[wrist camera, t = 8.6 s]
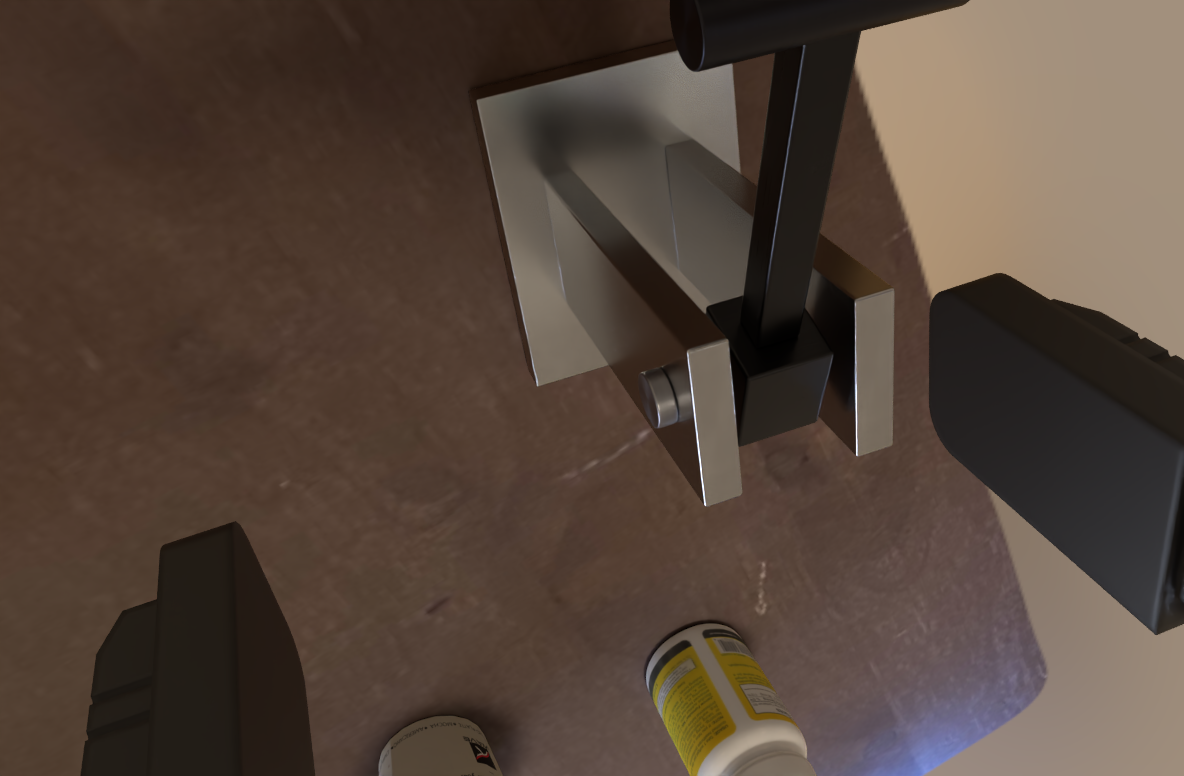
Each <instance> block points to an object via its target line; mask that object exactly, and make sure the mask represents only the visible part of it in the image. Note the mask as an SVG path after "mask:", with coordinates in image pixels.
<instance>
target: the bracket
mask: <svg viewBox="0 0 1184 776" xmlns="http://www.w3.org/2000/svg"><path fill="white" fill-rule="evenodd" d="M468 93H469V97H470V102H471V107H472V111H473V116H474V120H475V125H476V130H477V134H478V139H479V143H480V148H481V153H482V157H483V162H484V167H485V171H486V176H487V180H488V185H489V190H490V194H491V199H492V203H493V208H494V213H495V217H496V222H497V227H498V231H499V236H500V240H501V245H502V250H503V254H504V259H505V263H506V268H507V273H508V277H509V282H510V286H511V291H512V296H513V300H514V305H515V310H516V314H517V319H518V323H519V328H520V333H521V337H522V342H523V346H524V351H525V356H526V360H527V365H528V369H529V372H530V374H531V376H532V377H533V379H534V381H535V383H536V385H537V386H542V385H545V384H549V383H552V382H555V381H559V380H562V379H565V378H569V377H572V376H575V375H579V374H582V373H585V372H589V371H592V370H595V369H598V368H602V367H605V366H608V365H609V366H610V367H611V369H612V370H613V372H614V373H615V375H616V376H617V378H618V379H619V381H620V382H621V384H622V385H623V387H624V388H625V390H626V391H627V392H628V394H629V395H630V397H631V398H632V400H633V401H634V403H635V404H636V406H637V407H638V409H639V410H640V412H641V413H642V414H643V416H644V417H645V419H646V420H647V422H648V423H649V425H650V426H651V428H652V429H653V431H654V432H655V434H656V435H657V437H658V438H659V439H660V441H661V442H662V444H663V445H664V447H665V448H666V450H667V451H668V453H669V454H670V456H671V457H672V459H673V460H674V461H675V463H676V464H677V466H678V467H679V469H680V470H681V472H682V473H683V475H684V476H685V478H686V479H687V481H688V482H689V483H690V485H691V486H692V488H693V489H694V491H695V492H696V494H697V495H698V497H699V498H700V500H701V501H702V503H703V504H704V505H705V506H706V507H707V506H711V505H714V504H717V503H720V502H723V501H726V500H729V499H732V498H735V497H738V496H741V495H742V483H741V472H740V460H739V449H738V438H737V427H736V416H735V405H734V394H733V382H732V371H731V360H730V349H729V340H728V338H727V337H726V336H725V335H724V334H723V333H722V332H721V330H720V329H719V328H718V327H717V326H716V325H715V324H714V323H713V322H712V321H711V320H710V319H709V317H708V316H707V315H706V307H707V306H709V305H712V304H715V303H718V302H722V301H725V300H729V299H732V298H735V297H739V296H742V295H743V293H744V286H745V278H746V270H747V263H748V255H749V247H750V240H751V232H752V224H753V217H754V209H755V201H756V194H757V186H756V185H755V184H753V183H752V182H751V181H749V180H748V179H747V178H745V177H744V176H743V175H741V170H740V156H739V143H738V130H737V116H736V103H735V90H734V76H733V63H732V64H728V65H724V66H720V67H716V68H712V69H708V70H704V71H700V72H693V71H691V70H689V69H688V68H687V67H686V65H685V64H684V63H683V61H682V59H681V57H680V55H679V52H678V50H677V47H676V44H675V41H674V40H671V41H667V42H662V43H658V44H654V45H650V46H646V47H642V48H638V49H634V50H630V51H626V52H621V53H617V54H613V55H609V56H605V57H601V58H597V59H593V60H589V61H585V62H580V63H576V64H572V65H568V66H564V67H560V68H556V69H552V70H548V71H544V72H539V73H535V74H531V75H527V76H523V77H519V78H515V79H511V80H507V81H503V82H498V83H494V84H490V85H486V86H482V87H478V88H474V89H470V90H469V91H468ZM805 308H806V310H807V311H808V313H809V314H810V316H811V318H812V319H813V321H814V322H815V324H816V325H817V327H818V328H819V330H820V332H821V333H822V335H823V336H824V338H825V339H826V341H827V342H828V344H829V345H830V347H831V349H832V350H833V352H834V356H833V360H832V364H831V368H830V372H829V376H828V380H827V384H826V388H825V392H824V396H823V400H822V403H821V407H820V411H819V415H818V416H819V417H820V418H821V419H822V421H823V422H824V423H825V424H826V425H827V426H828V427H829V428H830V429H831V430H832V431H833V432H834V433H835V434H836V435H837V436H838V437H839V438H840V439H841V440H842V441H843V443H844V444H845V445H846V446H847V447H848V448H849V449H850V450H851V451H852V452H853V453H854V454H855V455H856V456H857V457H859V456H862V455H865V454H868V453H871V452H874V451H877V450H880V449H883V448H886V447H889V446H891V445H892V444H893V365H894V288H893V287H891V286H890V285H889V284H887V283H886V282H885V281H883V280H882V279H881V278H879V277H878V276H877V275H875V274H874V273H873V272H871V271H870V270H869V269H867V268H866V267H865V266H863V265H862V264H861V263H859V262H858V261H857V260H855V259H854V258H852V257H851V256H850V255H848V254H847V253H846V252H844V251H843V250H842V249H840V248H839V247H838V246H836V245H835V244H834V243H832V242H831V241H830V240H828V239H827V238H826V237H824V236H823V235H822V234H820V235H819V240H818V244H817V249H816V254H815V259H814V264H813V269H812V274H811V279H810V284H809V289H808V293H807V298H806V303H805Z"/></svg>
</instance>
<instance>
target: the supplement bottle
mask: <svg viewBox="0 0 1184 776" xmlns="http://www.w3.org/2000/svg"><path fill="white" fill-rule="evenodd" d="M646 683H647V687H648V690H649V693H650V695H651V697H652V699H653V701H654V703H655V705H656V707H657V709H658V712H659V713H660V716H661V718H662V720H663V722H664V723H665V726H666V728H667V730H668V732H669V734H670V736H671V738H672V740H673V742H674V744H675V746H676V748H677V750H678V752H679V754H680V756H681V758H682V760H683V762H684V764H685V766H686V768H687V770H688V772H689V774H690V776H817V775H816V773H815V771H814V769H813V767H812V765H811V764H810V763H809V762H808V760H807V759H806V758H807V748H806V743H805V739H804V737H803V735H802V733H801V731H800V730H799V728H798V726H797V725H796V723H795V722H794V720H793V718H792V717H791V715H790V714H789V712H788V711H787V709H786V707H785V706H784V704H783V703H782V701H781V700H780V698H779V696H778V695H777V693H776V692H775V690H774V688H773V687H772V685H771V684H770V682H769V680H768V679H767V677H766V676H765V674H764V673H763V671H762V670H761V668H760V666H759V665H758V663H757V662H756V660H755V658H754V657H753V655H752V654H751V652H750V651H749V649H748V648H747V646H746V644H745V643H744V641H743V640H742V638H741V637H740V636H739V635H738V634H737V633H736V632H735V631H734V630H733V629H731V628H729V627H727V626H724V625H720V624H712V623H709V624H701V625H697V626H693V627H690V628H688V629H685V630H683V631H681V632H679V633H677V634H676V635H674V636H672V637H671V638H669V639H668V640H667V641H666V642H664V643H663V644H662V645H661V646H660V647H659V648H658V649H657V651H656V652H655V653H654V655H653V656H652V658H651V660H650V662H649V665H648V668H647V672H646Z"/></svg>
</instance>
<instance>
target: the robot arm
mask: <svg viewBox="0 0 1184 776" xmlns="http://www.w3.org/2000/svg"><path fill="white" fill-rule="evenodd" d="M929 408H930V414H931V418H932V422H933V425H934V428H935V430H936V432H937V435H938V436H939V438H940V440H941V442H942V443H943V445H944V446H945V448H946V449H947V450H948V451H949V452H950V454H951V455H952V456H954V457H955V458H956V459H957V460H958V461H959V462H960V463H961V464H963V465H964V466H965V467H966V468H967V469H968V470H969V471H971V472H972V473H973V474H974V475H975V476H976V477H977V478H978V479H980V480H981V481H982V482H983V483H984V484H985V485H986V486H988V487H989V488H990V489H991V490H992V491H993V492H994V493H995V494H997V495H998V496H999V497H1000V498H1001V499H1002V500H1003V501H1005V502H1006V503H1007V504H1008V505H1009V506H1010V507H1012V509H1014V510H1015V511H1016V512H1017V513H1018V514H1019V515H1020V516H1022V517H1023V518H1024V519H1025V520H1026V521H1027V522H1028V523H1029V524H1031V525H1032V526H1033V527H1034V528H1035V529H1036V530H1037V531H1038V532H1040V533H1041V534H1042V535H1043V536H1044V537H1045V538H1047V539H1048V540H1049V541H1050V542H1051V543H1052V544H1053V545H1054V546H1056V547H1057V548H1058V549H1059V550H1060V551H1061V552H1062V553H1063V554H1065V555H1066V556H1067V557H1068V558H1069V559H1070V560H1071V561H1073V562H1074V563H1075V564H1076V565H1077V566H1078V567H1079V568H1080V569H1082V570H1083V571H1084V572H1085V573H1086V574H1087V575H1088V576H1090V577H1091V578H1092V579H1093V580H1094V581H1095V582H1096V583H1098V584H1099V585H1100V586H1101V587H1102V588H1103V589H1104V590H1105V591H1107V592H1108V593H1109V594H1110V595H1111V596H1112V597H1113V598H1115V599H1116V600H1117V601H1118V602H1119V603H1120V604H1121V605H1122V606H1123V607H1125V608H1126V609H1127V610H1128V611H1129V612H1130V613H1131V614H1132V615H1134V616H1135V617H1136V618H1137V619H1138V620H1139V621H1140V622H1142V623H1143V624H1144V625H1145V626H1146V627H1147V628H1148V629H1150V630H1151V631H1152V632H1153V633H1154V634H1155V635H1158V634H1160V633H1162V632H1165V631H1167V630H1170V629H1172V628H1175V627H1177V626H1180V625H1182V624H1184V360H1183V359H1182V358H1180V357H1178V356H1176V355H1175V356H1172V357H1170V355H1169V354H1168V350H1166V349H1164V348H1163V347H1161V346H1159V345H1157V344H1156V343H1154V342H1152V341H1150V340H1149V339H1147V338H1143V339H1140V338H1139V336H1138V333H1137V332H1135V331H1133V330H1131V329H1130V328H1128V327H1126V326H1124V325H1123V324H1121V323H1119V322H1117V321H1116V320H1114V319H1112V318H1110V317H1109V316H1107V315H1105V314H1103V313H1101V312H1099V311H1095V310H1091V309H1087V308H1084V307H1081V306H1077V305H1074V304H1070V303H1066V302H1063V301H1059V300H1056V299H1053V300H1049V299H1047V298H1046V297H1044V296H1042V295H1041V294H1039V293H1038V292H1036V291H1034V290H1032V289H1031V288H1029V287H1027V286H1026V285H1024V284H1022V283H1021V282H1019V281H1017V280H1016V279H1014V278H1012V277H1011V276H1008V275H1006V274H1003V273H996V274H993V275H990V276H987V277H984V278H981V279H978V280H975V281H972V282H969V283H966V284H962V285H959V286H956V287H953V288H950V289H947V290H944V291H941V292H939V293H938V294H936V295H935V297H934V298H933V300H932V303H931V307H930V320H929ZM91 698H92V701H93V704H92V705H90V707H89V715H88V722H87V730H86V733H87V735H88V740H87V741H85V746H84V753H83V761H82V769H81V776H315V770H314V761H313V752H312V743H311V733H310V724H309V715H308V706H307V697H306V688H305V681H304V675H303V671H302V666H301V662H300V658H299V655H298V651H297V648H296V645H295V642H294V639H293V636H292V634H291V631H290V629H289V627H288V624H287V622H286V620H285V618H284V616H283V613H282V611H281V609H280V607H279V605H278V603H277V600H276V598H275V596H274V594H273V592H272V590H271V588H270V585H269V583H268V581H267V579H266V577H265V575H264V572H263V570H262V568H261V566H260V564H259V562H258V559H257V557H256V555H255V553H254V551H253V549H252V547H251V544H250V542H249V540H248V538H247V536H246V534H245V532H244V530H243V529H242V527H241V526H240V525H239V524H238V523H237V522H236V521H235V522H232V523H229V524H226V525H223V526H220V527H217V528H213V529H210V530H207V531H204V532H201V533H198V534H195V535H192V536H189V537H186V538H183V539H180V540H177V541H174V542H171V543H168V544H165V545H163V546H162V548H161V550H160V560H159V576H158V592H157V599H156V600H153V601H150V602H147V603H144V604H142V605H139V606H136V607H133V608H130V609H127V610H124V611H122V613H121V614H120V616H119V618H118V619H117V621H116V623H115V624H114V626H113V628H112V629H111V631H110V633H109V634H108V636H107V638H106V639H105V641H104V643H103V644H102V646H101V648H100V649H99V651H98V653H97V654H96V661H95V669H94V676H93V684H92V692H91Z"/></svg>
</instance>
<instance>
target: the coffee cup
mask: <svg viewBox="0 0 1184 776" xmlns="http://www.w3.org/2000/svg"><path fill="white" fill-rule="evenodd" d="M379 776H503V774H502V772H501V770H500V768H499V766H498V764H497V761H496V759H495V757H494V755H493V753H492V751H491V748H490V746H489V744H488V742H487V740H486V738H485V736H484V734H483V733H482V731H481V730H480V728H479V727H478V726H477V725H476V724H474V723H473V722H471V721H469V720H468V719H465V718H460V717H456V716H435V717H431V718H427V719H423V720H420V721H417V722H415V723H413V724H411V725H409V726H407V727H405V728H403V729H402V730H401V731H400V732H398V733H397V734H396V735H395V736H394V737H393V738H391V739H390V740H389V742H388V743H387V745H386V746H385V748H384V749H383V751H382V753H381V757H380V761H379Z"/></svg>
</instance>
